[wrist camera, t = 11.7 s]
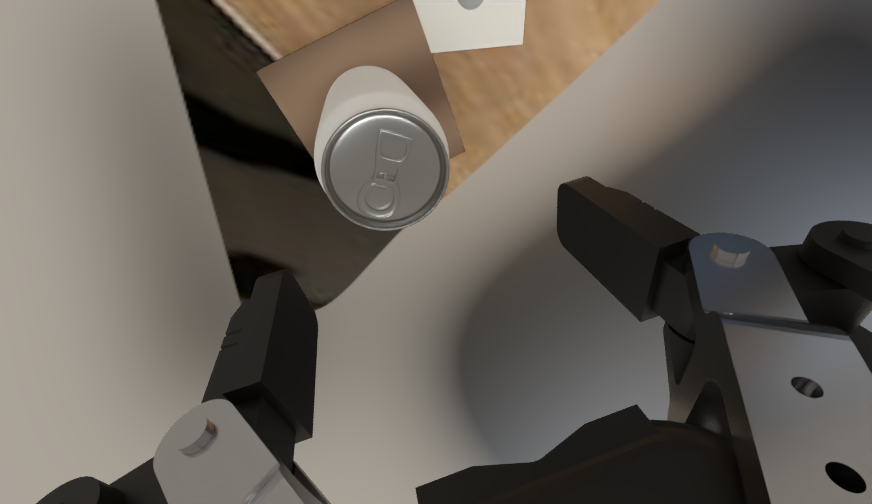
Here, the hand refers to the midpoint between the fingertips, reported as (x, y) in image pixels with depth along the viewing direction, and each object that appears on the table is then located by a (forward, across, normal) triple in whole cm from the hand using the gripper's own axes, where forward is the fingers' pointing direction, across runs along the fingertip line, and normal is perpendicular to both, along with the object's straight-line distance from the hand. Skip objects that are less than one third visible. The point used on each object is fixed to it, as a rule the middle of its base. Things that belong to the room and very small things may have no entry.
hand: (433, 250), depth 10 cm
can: (+18, 0, 0) cm, 18 cm away
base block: (+22, 0, 0) cm, 22 cm away
